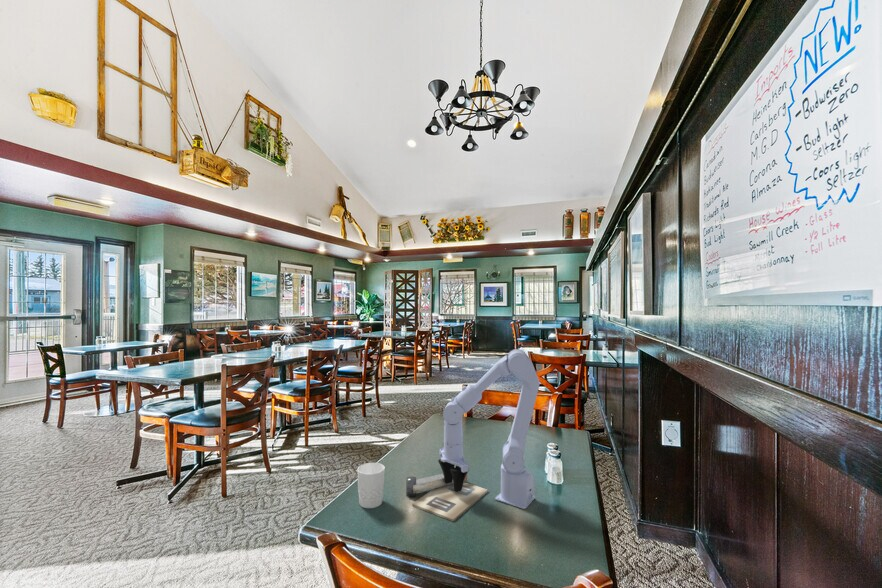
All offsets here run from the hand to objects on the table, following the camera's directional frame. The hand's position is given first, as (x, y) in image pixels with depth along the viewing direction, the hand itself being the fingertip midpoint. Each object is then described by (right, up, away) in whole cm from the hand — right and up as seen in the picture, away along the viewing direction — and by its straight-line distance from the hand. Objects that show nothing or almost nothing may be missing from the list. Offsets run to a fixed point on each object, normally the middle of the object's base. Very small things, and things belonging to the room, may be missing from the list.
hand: (453, 486), depth 120 cm
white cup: (-24, -2, -5) cm, 25 cm away
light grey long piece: (-5, -2, +3) cm, 6 cm away
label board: (-1, -2, -3) cm, 4 cm away
